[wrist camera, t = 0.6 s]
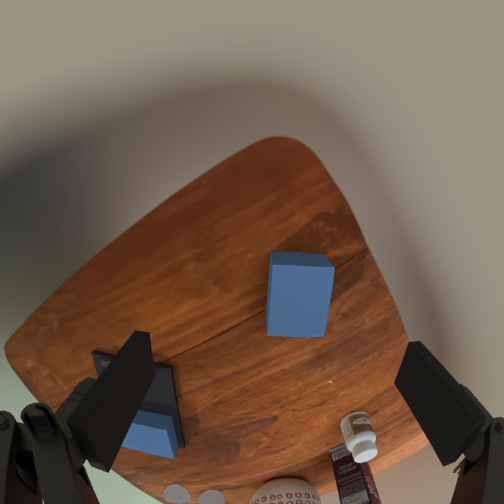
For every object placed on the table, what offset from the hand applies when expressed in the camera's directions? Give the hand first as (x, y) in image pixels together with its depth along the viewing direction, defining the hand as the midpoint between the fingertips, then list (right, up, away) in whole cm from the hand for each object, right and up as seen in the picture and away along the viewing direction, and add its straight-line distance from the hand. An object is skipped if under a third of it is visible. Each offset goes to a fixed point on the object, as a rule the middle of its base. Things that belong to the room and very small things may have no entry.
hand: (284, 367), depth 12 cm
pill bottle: (+14, -20, +22) cm, 33 cm away
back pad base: (-18, -17, +22) cm, 33 cm away
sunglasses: (-14, -48, +29) cm, 58 cm away
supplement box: (+15, -30, +24) cm, 41 cm away
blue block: (+3, +2, +17) cm, 17 cm away
